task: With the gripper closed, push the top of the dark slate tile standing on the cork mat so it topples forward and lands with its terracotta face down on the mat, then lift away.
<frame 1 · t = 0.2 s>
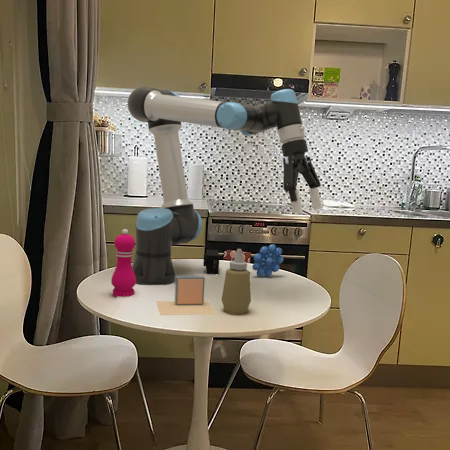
hand: (308, 210, 154), 28 cm above the table, tool tilted 20°, fingers open, 13 cm apart
squeeze bottle: (235, 313, 142), on the table
pepper mill: (123, 296, 152), on the table
grapes: (266, 276, 185), on the table
mat: (185, 309, 143), on the table
tile: (188, 303, 146), point 1 cm above the table, touching mat
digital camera: (210, 271, 188), on the table
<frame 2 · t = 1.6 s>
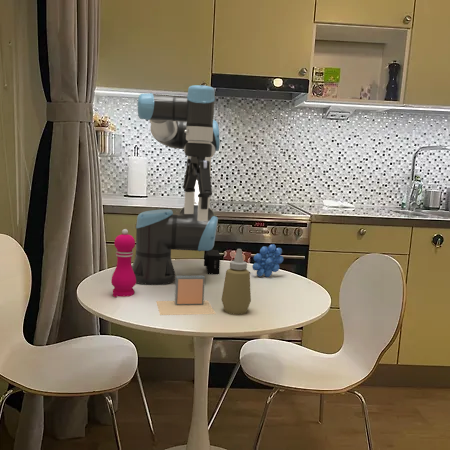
hand: (195, 217, 147), 25 cm above the table, tool pointing down, fingers open, 13 cm apart
nothing on the table moved.
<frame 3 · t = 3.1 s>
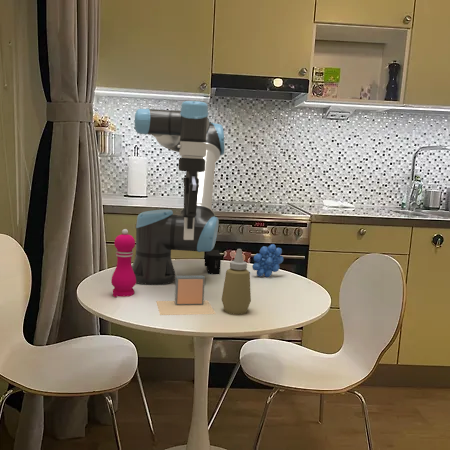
hand: (188, 239, 149), 18 cm above the table, tool pointing down, fingers closed
nothing on the table moved.
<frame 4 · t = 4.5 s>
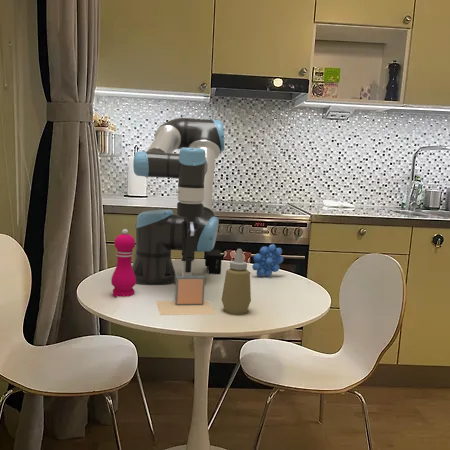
hand: (186, 282, 150), 5 cm above the table, tool pointing down, fingers closed
nothing on the table moved.
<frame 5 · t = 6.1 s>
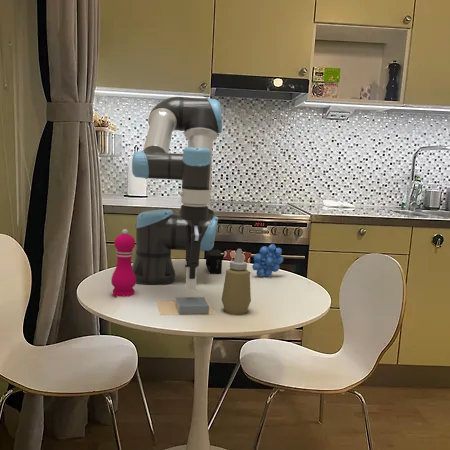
hand: (190, 289, 143), 6 cm above the table, tool pointing down, fingers closed
tile: (189, 300, 144), point 2 cm above the table, tilted 90°, touching mat
everything else where it was.
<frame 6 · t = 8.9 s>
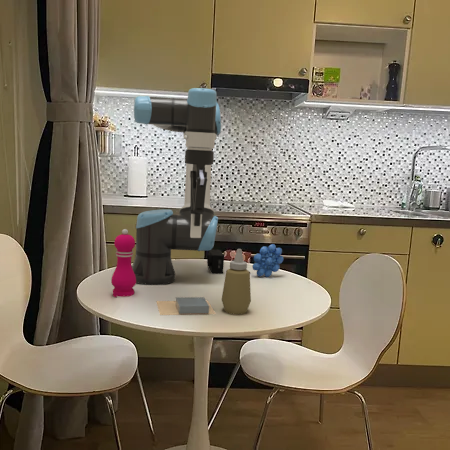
hand: (195, 237, 139), 21 cm above the table, tool pointing down, fingers closed
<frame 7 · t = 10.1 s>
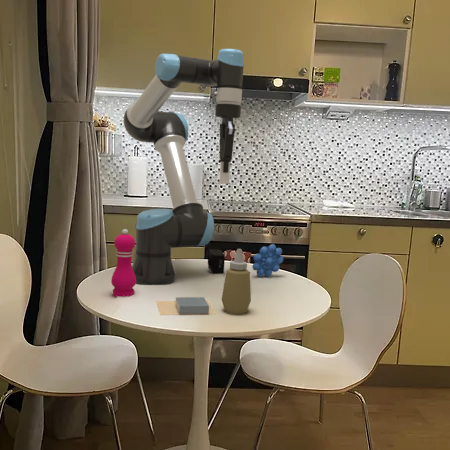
hand: (224, 183, 156), 34 cm above the table, tool pointing down, fingers closed
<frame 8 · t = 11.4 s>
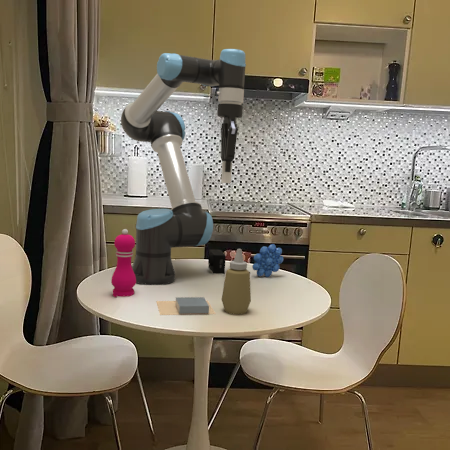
hand: (226, 182, 157), 34 cm above the table, tool pointing down, fingers closed
at the end: tile tilted 90°; tile inside the target area on the mat (3.6 cm from its centre), point 1.9 cm above the mat's base; the gripper is holding nothing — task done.
